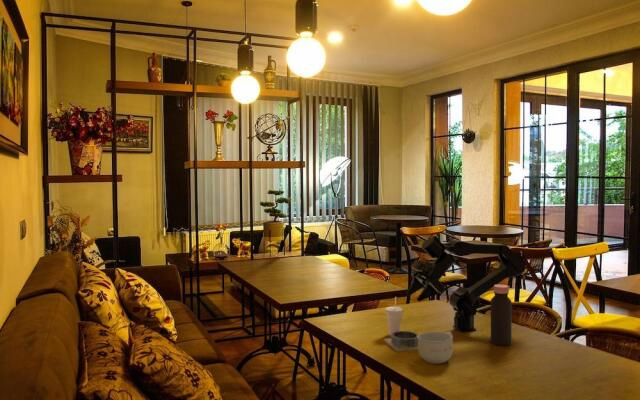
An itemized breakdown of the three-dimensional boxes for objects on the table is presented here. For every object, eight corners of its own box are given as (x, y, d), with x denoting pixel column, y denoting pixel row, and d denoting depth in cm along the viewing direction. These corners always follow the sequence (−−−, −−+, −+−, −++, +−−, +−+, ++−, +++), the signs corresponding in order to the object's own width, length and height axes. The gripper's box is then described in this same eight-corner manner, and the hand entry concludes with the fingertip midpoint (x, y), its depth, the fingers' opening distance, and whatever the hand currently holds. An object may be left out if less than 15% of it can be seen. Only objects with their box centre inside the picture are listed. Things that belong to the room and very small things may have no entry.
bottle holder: (412, 338, 179) (412, 329, 179) (427, 347, 169) (427, 338, 168) (384, 341, 176) (384, 332, 176) (397, 351, 165) (397, 341, 165)
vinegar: (514, 342, 173) (514, 285, 172) (506, 347, 168) (506, 289, 167) (495, 338, 177) (495, 283, 176) (487, 343, 172) (487, 286, 171)
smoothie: (398, 338, 179) (397, 300, 178) (382, 335, 182) (382, 297, 182) (406, 334, 184) (406, 296, 183) (391, 331, 188) (390, 294, 187)
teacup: (432, 369, 150) (432, 343, 150) (410, 358, 159) (410, 333, 159) (467, 361, 156) (467, 335, 156) (443, 350, 166) (443, 326, 166)
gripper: (415, 248, 194) (389, 278, 192) (437, 256, 175) (407, 288, 173) (434, 267, 196) (408, 297, 194) (457, 276, 177) (428, 309, 175)
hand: (412, 297), depth 184 cm, fingers open, 9 cm apart
